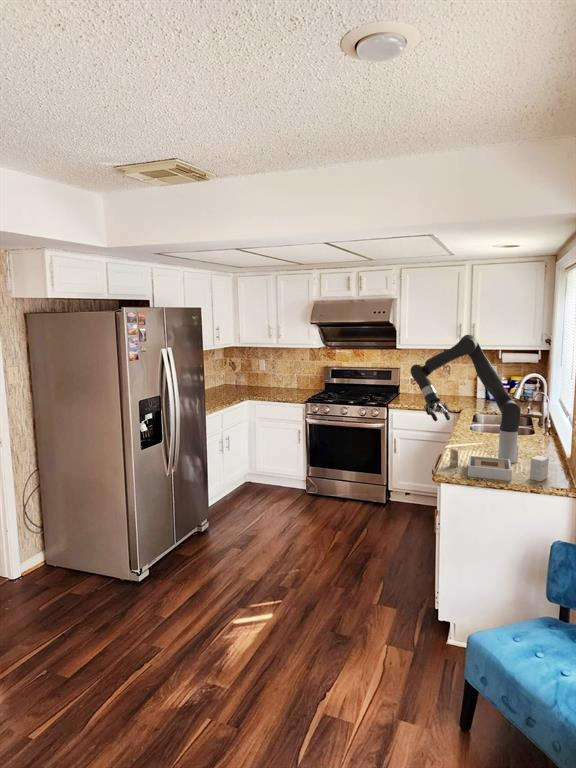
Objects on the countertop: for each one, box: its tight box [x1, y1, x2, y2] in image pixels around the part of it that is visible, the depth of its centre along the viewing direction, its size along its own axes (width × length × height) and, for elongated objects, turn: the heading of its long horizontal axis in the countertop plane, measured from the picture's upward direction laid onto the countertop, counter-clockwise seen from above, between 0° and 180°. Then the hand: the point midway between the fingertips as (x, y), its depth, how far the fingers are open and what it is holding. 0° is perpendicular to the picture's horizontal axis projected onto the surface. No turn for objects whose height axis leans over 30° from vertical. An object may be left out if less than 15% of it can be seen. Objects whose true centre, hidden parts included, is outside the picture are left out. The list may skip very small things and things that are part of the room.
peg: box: [449, 448, 460, 469], centre depth 273 cm, size 4×4×9 cm
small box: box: [529, 455, 549, 482], centre depth 253 cm, size 8×6×10 cm
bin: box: [466, 455, 513, 482], centre depth 262 cm, size 20×20×6 cm
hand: (442, 420), depth 280 cm, fingers open, 8 cm apart
